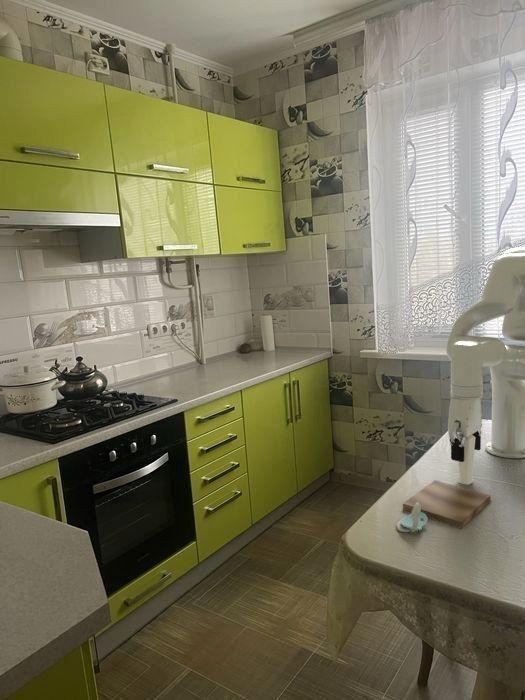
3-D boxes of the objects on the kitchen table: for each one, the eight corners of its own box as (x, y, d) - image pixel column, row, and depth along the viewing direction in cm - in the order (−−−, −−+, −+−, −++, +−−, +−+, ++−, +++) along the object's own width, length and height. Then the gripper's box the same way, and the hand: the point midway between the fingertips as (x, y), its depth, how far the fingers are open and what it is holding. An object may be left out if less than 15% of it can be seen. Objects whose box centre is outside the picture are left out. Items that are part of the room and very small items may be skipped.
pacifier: (391, 532, 112) (418, 539, 108) (390, 505, 111) (417, 511, 107) (404, 517, 118) (430, 523, 114) (403, 492, 117) (429, 497, 113)
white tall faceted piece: (475, 485, 130) (476, 429, 128) (457, 484, 132) (457, 428, 129) (474, 478, 135) (474, 423, 132) (456, 477, 136) (456, 422, 134)
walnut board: (435, 485, 132) (435, 480, 132) (490, 501, 122) (490, 495, 122) (402, 509, 121) (402, 503, 121) (460, 528, 111) (460, 522, 111)
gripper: (466, 381, 138) (466, 442, 141) (436, 396, 126) (436, 461, 129) (495, 384, 132) (494, 447, 135) (466, 400, 120) (465, 469, 123)
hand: (466, 454), depth 132 cm, fingers open, 9 cm apart
